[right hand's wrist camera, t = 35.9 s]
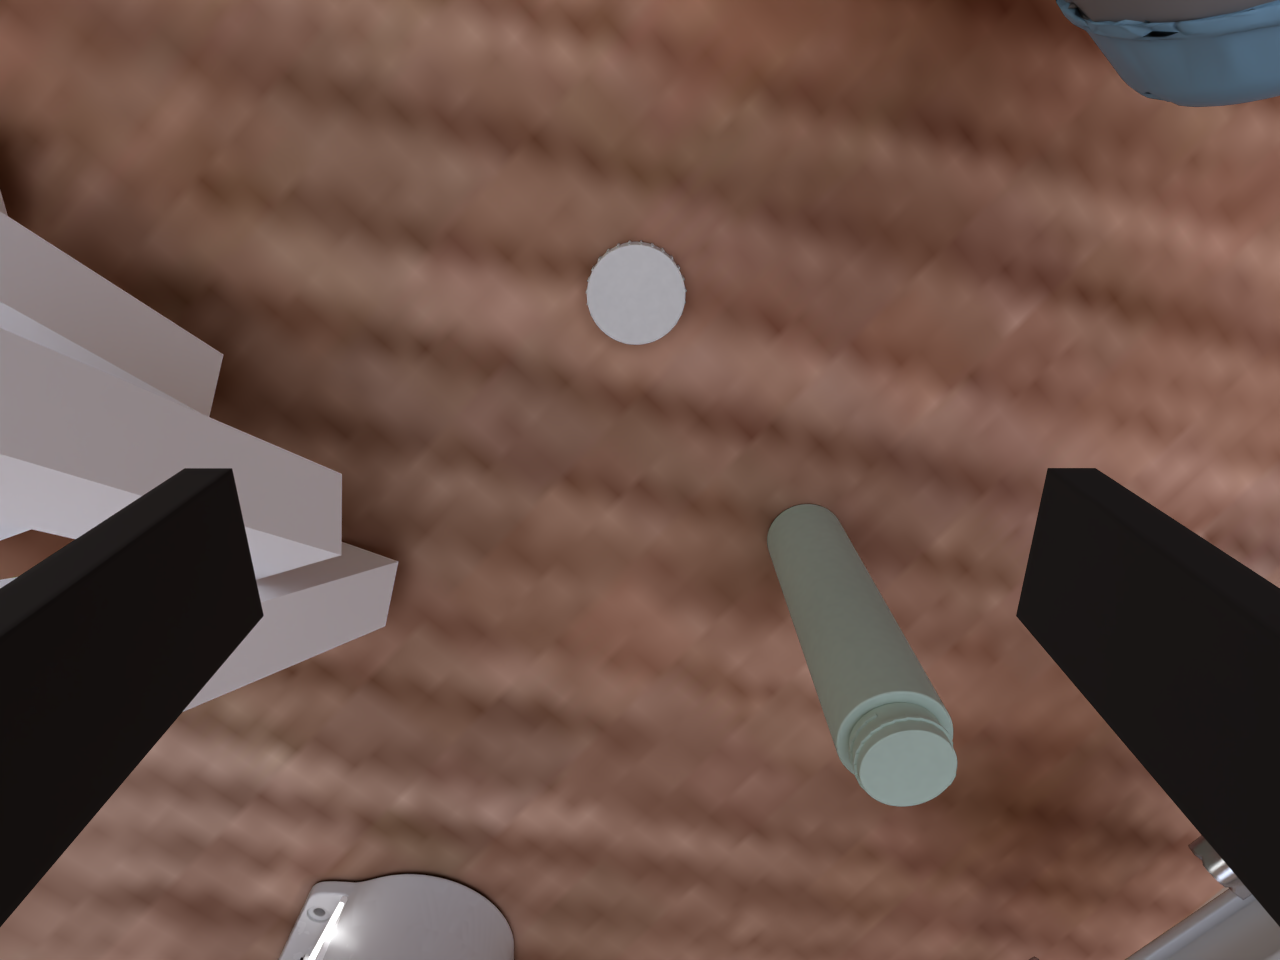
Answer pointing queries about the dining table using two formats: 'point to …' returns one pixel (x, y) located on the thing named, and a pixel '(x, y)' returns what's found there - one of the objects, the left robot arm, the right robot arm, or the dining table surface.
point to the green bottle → (861, 663)
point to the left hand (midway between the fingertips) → (1115, 918)
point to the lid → (636, 293)
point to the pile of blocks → (162, 452)
